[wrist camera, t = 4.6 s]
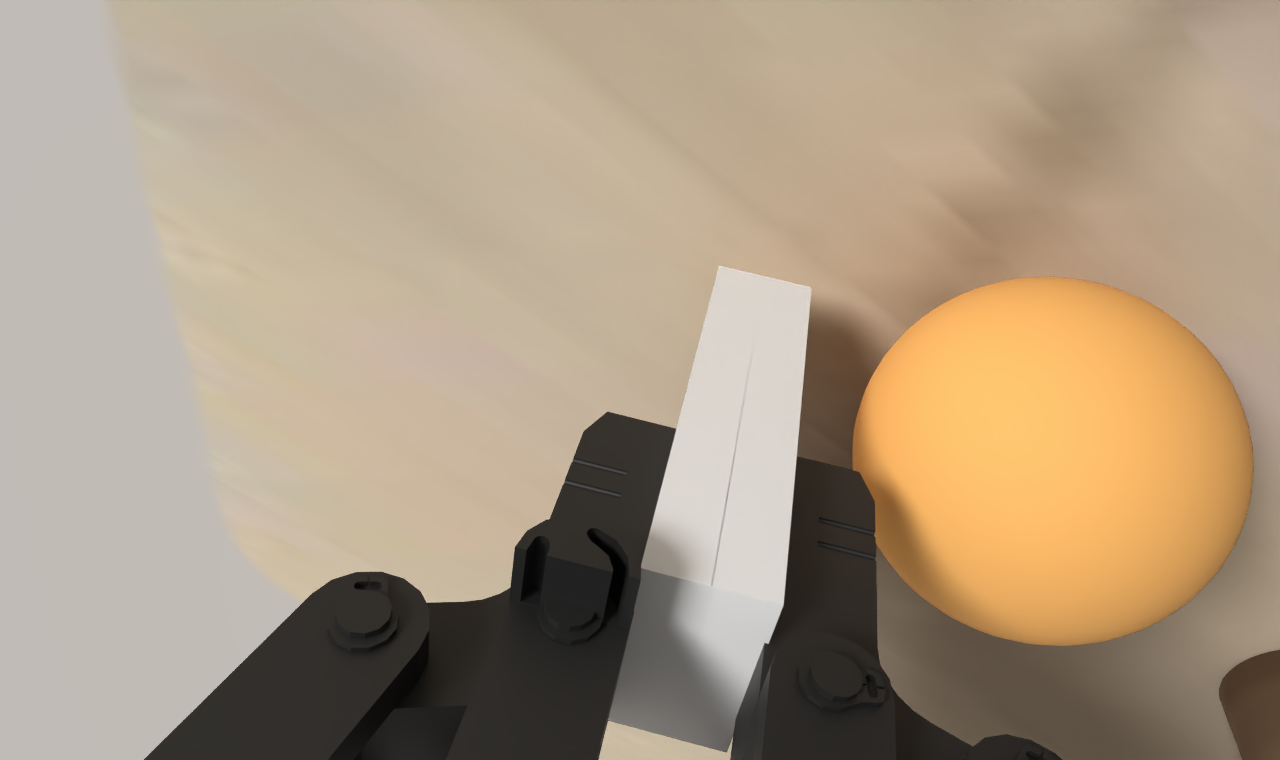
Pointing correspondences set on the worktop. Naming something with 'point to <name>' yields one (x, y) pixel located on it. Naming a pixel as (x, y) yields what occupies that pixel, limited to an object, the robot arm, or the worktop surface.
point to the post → (1254, 706)
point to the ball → (1054, 461)
